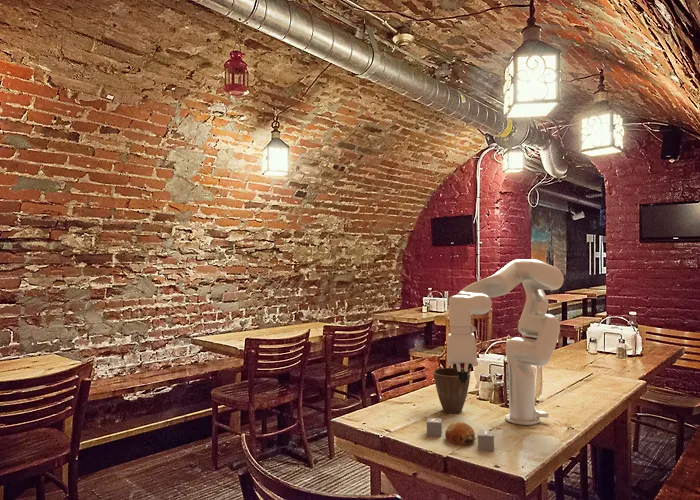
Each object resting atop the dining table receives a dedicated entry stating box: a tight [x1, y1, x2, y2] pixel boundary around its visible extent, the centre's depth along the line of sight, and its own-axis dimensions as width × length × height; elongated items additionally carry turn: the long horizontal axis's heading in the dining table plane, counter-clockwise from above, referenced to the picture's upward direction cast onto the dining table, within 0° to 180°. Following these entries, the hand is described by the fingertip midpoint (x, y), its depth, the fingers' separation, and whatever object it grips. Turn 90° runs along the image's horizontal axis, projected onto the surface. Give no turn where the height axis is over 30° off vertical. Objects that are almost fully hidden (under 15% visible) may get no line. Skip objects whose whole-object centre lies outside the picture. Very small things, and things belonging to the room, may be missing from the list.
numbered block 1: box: [477, 429, 495, 452], centre depth 175 cm, size 5×5×5 cm
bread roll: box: [444, 421, 476, 446], centre depth 183 cm, size 10×10×8 cm
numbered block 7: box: [426, 417, 443, 438], centre depth 189 cm, size 5×5×5 cm
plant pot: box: [433, 367, 471, 414], centre depth 217 cm, size 15×15×16 cm
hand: (463, 382), depth 187 cm, fingers closed
